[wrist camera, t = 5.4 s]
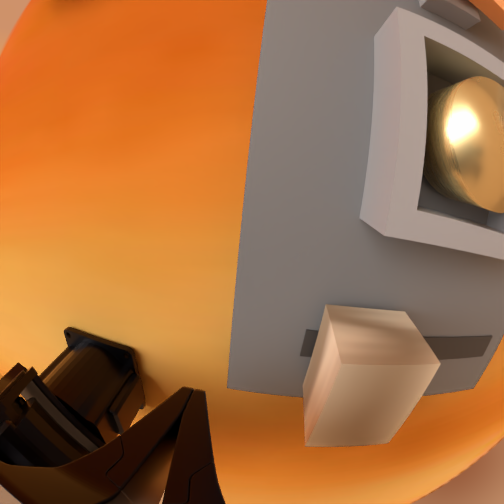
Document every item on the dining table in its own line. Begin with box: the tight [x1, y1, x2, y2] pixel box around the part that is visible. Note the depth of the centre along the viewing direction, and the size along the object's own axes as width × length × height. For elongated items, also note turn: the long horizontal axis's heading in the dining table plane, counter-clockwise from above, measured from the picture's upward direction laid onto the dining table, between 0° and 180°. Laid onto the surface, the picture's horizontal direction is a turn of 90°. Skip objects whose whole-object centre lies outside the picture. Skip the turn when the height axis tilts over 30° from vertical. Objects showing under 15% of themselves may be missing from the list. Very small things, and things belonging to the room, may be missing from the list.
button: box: [423, 76, 504, 213], centre depth 7 cm, size 5×5×3 cm
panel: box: [227, 0, 504, 397], centre depth 9 cm, size 18×27×5 cm, turn 174°
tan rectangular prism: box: [303, 304, 441, 447], centre depth 10 cm, size 4×5×4 cm
